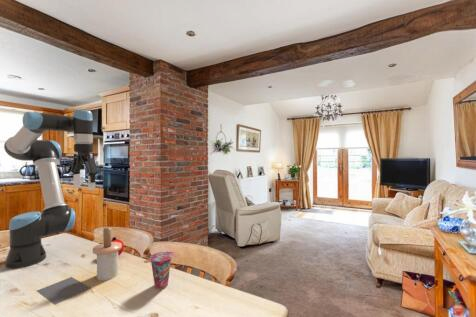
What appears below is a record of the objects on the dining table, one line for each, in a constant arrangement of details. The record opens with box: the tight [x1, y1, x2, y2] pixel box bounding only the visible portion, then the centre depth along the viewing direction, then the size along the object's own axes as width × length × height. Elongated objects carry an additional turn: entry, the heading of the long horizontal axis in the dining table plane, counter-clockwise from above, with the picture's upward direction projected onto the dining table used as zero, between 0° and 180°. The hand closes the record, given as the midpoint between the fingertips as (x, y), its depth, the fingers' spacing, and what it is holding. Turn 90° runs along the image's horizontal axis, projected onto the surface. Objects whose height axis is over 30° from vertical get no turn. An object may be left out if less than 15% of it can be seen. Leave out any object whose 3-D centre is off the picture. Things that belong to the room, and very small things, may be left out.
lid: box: [92, 226, 122, 256], centre depth 103 cm, size 11×11×9 cm
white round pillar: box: [96, 251, 120, 281], centre depth 103 cm, size 8×8×12 cm
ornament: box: [111, 236, 125, 257], centre depth 123 cm, size 9×9×10 cm
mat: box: [36, 276, 91, 305], centre depth 93 cm, size 16×12×1 cm
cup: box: [149, 251, 175, 290], centre depth 97 cm, size 9×8×12 cm
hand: (84, 188), depth 113 cm, fingers open, 13 cm apart
